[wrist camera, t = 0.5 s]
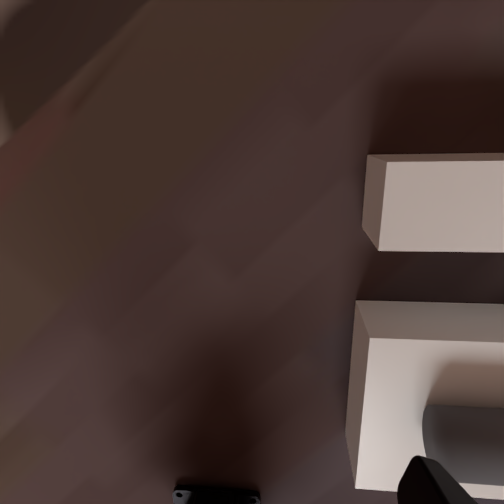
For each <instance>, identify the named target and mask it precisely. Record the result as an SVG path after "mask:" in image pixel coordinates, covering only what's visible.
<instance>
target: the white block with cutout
mask: <svg viewBox="0 0 504 504" xmlns="http://www.w3.org/2000/svg"><path fill="white" fill-rule="evenodd" d="M362 228H363V230H364V231H365V233H366V234H367V235H368V237H369V238H370V240H371V241H372V243H373V244H374V245H375V247H376V248H377V250H378V251H427V252H504V153H452V154H378V155H367V165H366V178H365V190H364V203H363V215H362ZM429 404H431V405H450V406H469V407H489V408H504V304H483V303H444V302H404V301H365V300H356V303H355V315H354V328H353V340H352V353H351V365H350V378H349V390H348V403H347V415H346V428H345V435H346V440H347V446H348V451H349V457H350V462H351V468H352V474H353V479H354V485H355V488H356V489H370V490H383V491H396V492H397V489H398V484H399V482H400V480H401V478H402V476H403V474H404V472H405V470H406V468H407V466H408V464H409V462H410V460H411V459H412V457H414V456H416V455H420V456H424V457H426V454H425V449H424V444H423V436H422V418H423V413H424V410H425V408H426V406H427V405H429ZM459 484H460V485H461V486H462V487H463V488H464V490H465V491H466V492H467V493H468V494H469V495H470V496H471V497H476V498H489V499H502V500H504V486H495V485H481V484H467V483H459Z"/></svg>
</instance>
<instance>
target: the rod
mask: <svg viewBox="0 0 504 504" xmlns="http://www.w3.org/2000/svg"><path fill="white" fill-rule="evenodd" d="M422 436H423V444H424V449H425V454H426V457H427V458H431V459H434V460H436V461H438V462H439V463H440V464H441V465H442V466H443V467H444V468H445V469H446V470H447V472H448V473H449V474H450V475H451V476H452V477H453V478H454V479H455V480H456V481H457V482H458V483H467V484H481V485H495V486H504V408H489V407H469V406H450V405H431V404H429V405H427V406H426V408H425V410H424V413H423V418H422Z"/></svg>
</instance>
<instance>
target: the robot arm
mask: <svg viewBox="0 0 504 504" xmlns="http://www.w3.org/2000/svg"><path fill="white" fill-rule="evenodd" d="M397 499H398V504H478V503H477V502H476V501H475V500H474V499H473V498H472V497H471V496H470V495H469V494H468V493H467V492H466V491H465V490H464V488H463V487H462V486H461V485H460V484H459V483H458V482H457V481H456V480H455V479H454V478H453V477H452V476H451V475H450V474H449V473H448V472H447V470H446V469H445V468H444V467H443V466H442V465H441V464H440V463H439V462H438V461H436V460H434V459H431V458H427V457H424V456H420V455H416V456H414V457H412V459H411V460H410V462H409V464H408V466H407V468H406V470H405V472H404V474H403V476H402V478H401V480H400V482H399V484H398V489H397ZM173 501H174V504H260V494H259V493H258V492H256V491H249V490H236V489H223V488H211V487H198V486H185V485H177V486H176V487H175V488H174V491H173Z"/></svg>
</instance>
